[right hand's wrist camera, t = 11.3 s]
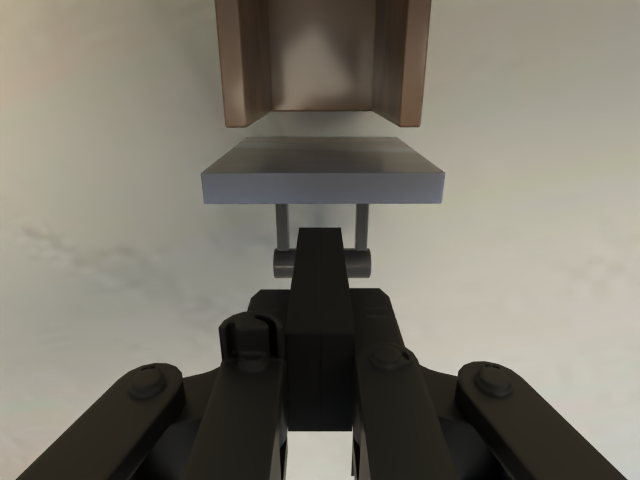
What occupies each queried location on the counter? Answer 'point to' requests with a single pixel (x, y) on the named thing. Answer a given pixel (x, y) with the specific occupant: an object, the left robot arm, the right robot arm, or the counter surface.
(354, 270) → the drawer
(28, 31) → the counter surface
